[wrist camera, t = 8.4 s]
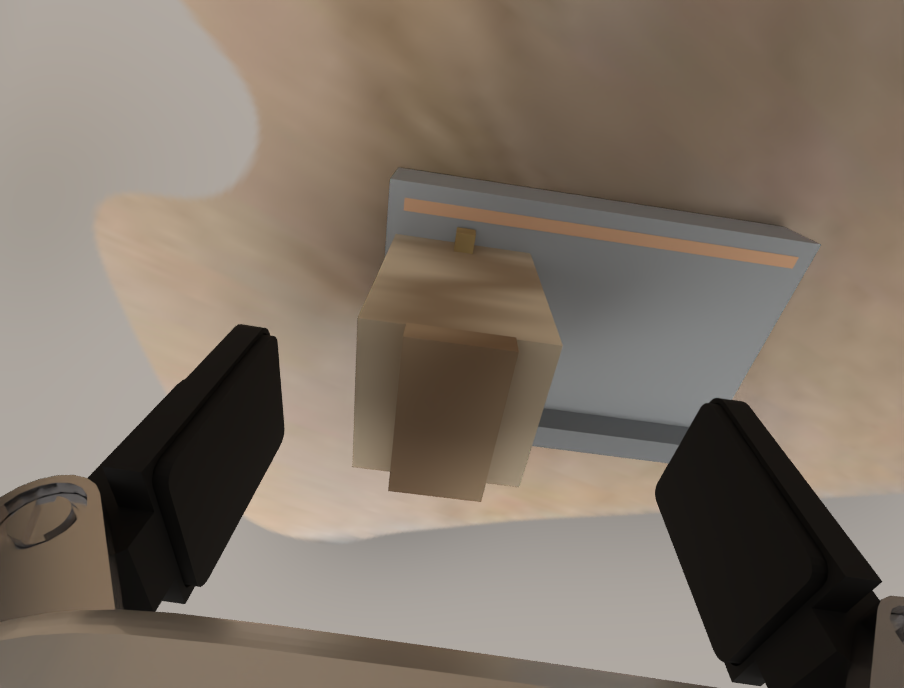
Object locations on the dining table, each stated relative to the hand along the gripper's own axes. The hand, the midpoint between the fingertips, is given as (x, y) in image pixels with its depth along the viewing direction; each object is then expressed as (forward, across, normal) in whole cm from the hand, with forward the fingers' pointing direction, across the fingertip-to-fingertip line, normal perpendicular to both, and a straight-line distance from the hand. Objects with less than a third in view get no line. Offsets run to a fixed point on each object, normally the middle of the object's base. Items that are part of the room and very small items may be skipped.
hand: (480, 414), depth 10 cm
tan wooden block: (+7, +1, +1) cm, 7 cm away
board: (+9, -4, +1) cm, 10 cm away
